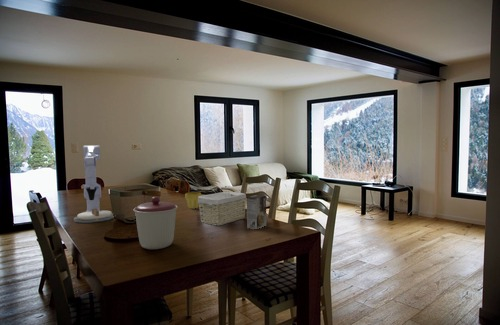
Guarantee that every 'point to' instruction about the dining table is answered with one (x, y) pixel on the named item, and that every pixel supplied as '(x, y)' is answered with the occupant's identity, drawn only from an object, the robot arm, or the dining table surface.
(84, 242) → the dining table surface
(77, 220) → the base
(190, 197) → the plant pot
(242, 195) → the storage basket
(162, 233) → the canister
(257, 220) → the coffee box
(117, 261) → the dining table surface
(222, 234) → the dining table surface
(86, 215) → the dial
